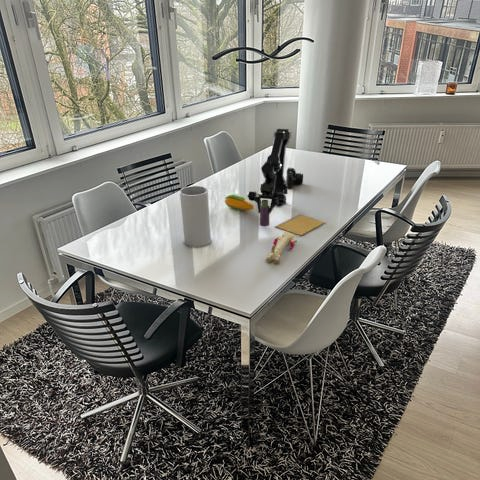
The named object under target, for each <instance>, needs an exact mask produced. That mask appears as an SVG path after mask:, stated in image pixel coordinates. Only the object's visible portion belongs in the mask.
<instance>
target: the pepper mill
mask: <svg viewBox="0 0 480 480" xmlns="http://www.w3.org/2000/svg"><path fill="white" fill-rule="evenodd" d="M269 208H270V205H269V199H261V206H260V213H259V226H261V227H269V226H270V214H269Z"/></svg>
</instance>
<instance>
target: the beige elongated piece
mask: <svg viewBox="0 0 480 480" xmlns="http://www.w3.org/2000/svg"><path fill="white" fill-rule="evenodd" d="M295 235H296V234H294V233H291V232H288V231H287V232H283V233H282V235H281V236H278V237H276V238H275V239H274V240H273V242H272V247H271V252H270V253H269V254H268V255H267V257H266V259H265V261H266V262H267V263H271V262H272V260H273V263H274V264H275V265H278V264H279V263H280V260H281V258H282V257H281V254H282V252H283V250H284V249H285V247H286V246H287V245H289V246H290V247H289V251H291V250H293V249H294V248H295V246H296V244H295V243H298V239H296V238H295Z"/></svg>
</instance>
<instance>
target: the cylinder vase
mask: <svg viewBox="0 0 480 480" xmlns="http://www.w3.org/2000/svg"><path fill="white" fill-rule="evenodd" d="M179 198H180V209H181V217H182V219H181V220H182V228H183V236H184V237H183V238H184V243H185V244H186V245H187V246H188V247H195V248H196V247H197V248H199V247H204V246H207V245H208V244H210V242H211V240H212V238H211V237H212V235H211V221H210V207H209V204H210V203H209V191H208V188H207V187H205V186H201V185H189V186H185V187H182V188H181V189H180V190H179Z"/></svg>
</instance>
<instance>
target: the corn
mask: <svg viewBox="0 0 480 480" xmlns="http://www.w3.org/2000/svg"><path fill="white" fill-rule="evenodd" d="M224 203H225V205H226V206H227V207H229V208H230V209H233V210H237V211H240V212H242V211H252V210H254V208H255V206H254V205H253V204H252V203H251V202H249V201H248V200H246V198H245V197H244V196H240V195H238V194H229V195H227V196H226V197H225V199H224Z"/></svg>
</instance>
